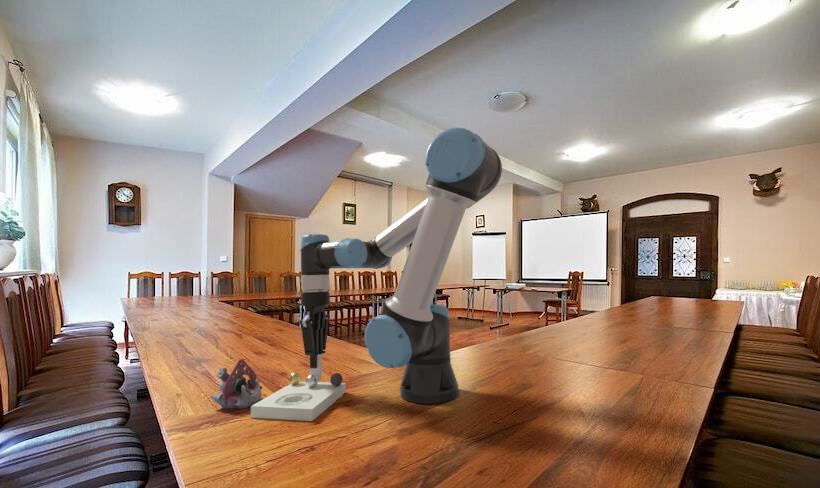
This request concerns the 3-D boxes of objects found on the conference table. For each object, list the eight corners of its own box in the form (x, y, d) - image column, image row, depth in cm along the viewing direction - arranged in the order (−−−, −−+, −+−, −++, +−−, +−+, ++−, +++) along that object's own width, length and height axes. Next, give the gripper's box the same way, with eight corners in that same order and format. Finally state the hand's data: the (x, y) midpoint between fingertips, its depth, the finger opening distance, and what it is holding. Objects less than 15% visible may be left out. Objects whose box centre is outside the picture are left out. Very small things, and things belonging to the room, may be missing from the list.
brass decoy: (303, 382, 98) (303, 370, 98) (297, 386, 95) (297, 373, 95) (292, 382, 99) (292, 370, 99) (286, 385, 95) (286, 373, 96)
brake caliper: (247, 403, 83) (222, 360, 86) (215, 430, 85) (192, 387, 87) (277, 388, 94) (254, 350, 97) (249, 412, 96) (227, 374, 98)
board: (294, 390, 99) (294, 381, 99) (345, 392, 96) (345, 383, 96) (250, 417, 81) (250, 406, 81) (312, 421, 78) (312, 409, 78)
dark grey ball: (344, 384, 95) (344, 371, 96) (339, 387, 92) (339, 375, 93) (333, 383, 96) (333, 371, 96) (328, 387, 93) (328, 374, 93)
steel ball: (321, 375, 96) (315, 373, 93) (319, 388, 94) (313, 386, 91) (310, 375, 96) (304, 373, 94) (308, 388, 95) (302, 386, 92)
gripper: (314, 290, 105) (314, 372, 103) (290, 292, 93) (289, 386, 91) (338, 289, 103) (339, 373, 101) (316, 292, 91) (317, 387, 89)
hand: (315, 379), depth 96 cm, fingers closed
